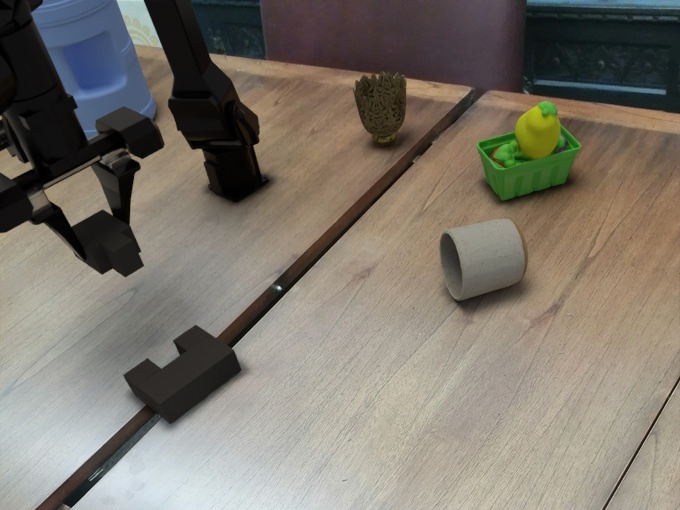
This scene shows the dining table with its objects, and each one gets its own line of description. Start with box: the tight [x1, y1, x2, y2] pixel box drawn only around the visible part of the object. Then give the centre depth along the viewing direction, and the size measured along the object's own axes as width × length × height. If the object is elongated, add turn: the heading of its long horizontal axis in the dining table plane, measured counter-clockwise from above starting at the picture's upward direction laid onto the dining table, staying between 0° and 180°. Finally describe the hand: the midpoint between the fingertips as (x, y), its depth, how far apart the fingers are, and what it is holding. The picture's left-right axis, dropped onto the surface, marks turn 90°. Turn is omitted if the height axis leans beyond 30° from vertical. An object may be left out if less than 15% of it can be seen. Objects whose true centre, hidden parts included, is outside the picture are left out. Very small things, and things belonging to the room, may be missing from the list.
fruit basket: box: [476, 100, 582, 201], centre depth 86 cm, size 11×9×11 cm
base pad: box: [122, 324, 242, 424], centre depth 75 cm, size 10×7×3 cm
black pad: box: [71, 209, 145, 278], centre depth 72 cm, size 5×8×3 cm, turn 46°
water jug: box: [31, 0, 157, 139], centre depth 103 cm, size 16×16×28 cm
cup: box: [352, 70, 408, 147], centre depth 98 cm, size 8×7×8 cm
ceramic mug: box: [438, 218, 529, 302], centre depth 78 cm, size 11×8×8 cm
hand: (105, 246), depth 73 cm, fingers closed on black pad, 5 cm apart
